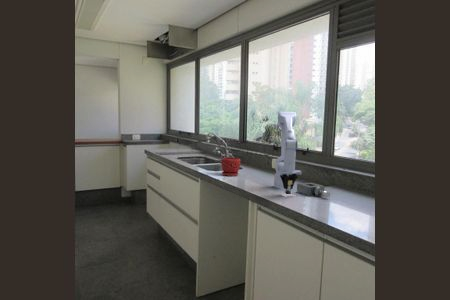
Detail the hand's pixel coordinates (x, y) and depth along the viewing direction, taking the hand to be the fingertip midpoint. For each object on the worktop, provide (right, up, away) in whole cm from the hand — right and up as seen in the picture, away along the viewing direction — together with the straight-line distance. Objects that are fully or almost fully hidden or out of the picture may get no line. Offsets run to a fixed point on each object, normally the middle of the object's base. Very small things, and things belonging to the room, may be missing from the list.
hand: (288, 188), depth 165 cm
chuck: (+15, -4, +2) cm, 15 cm away
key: (0, -2, 0) cm, 2 cm away
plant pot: (-29, +2, +57) cm, 64 cm away
